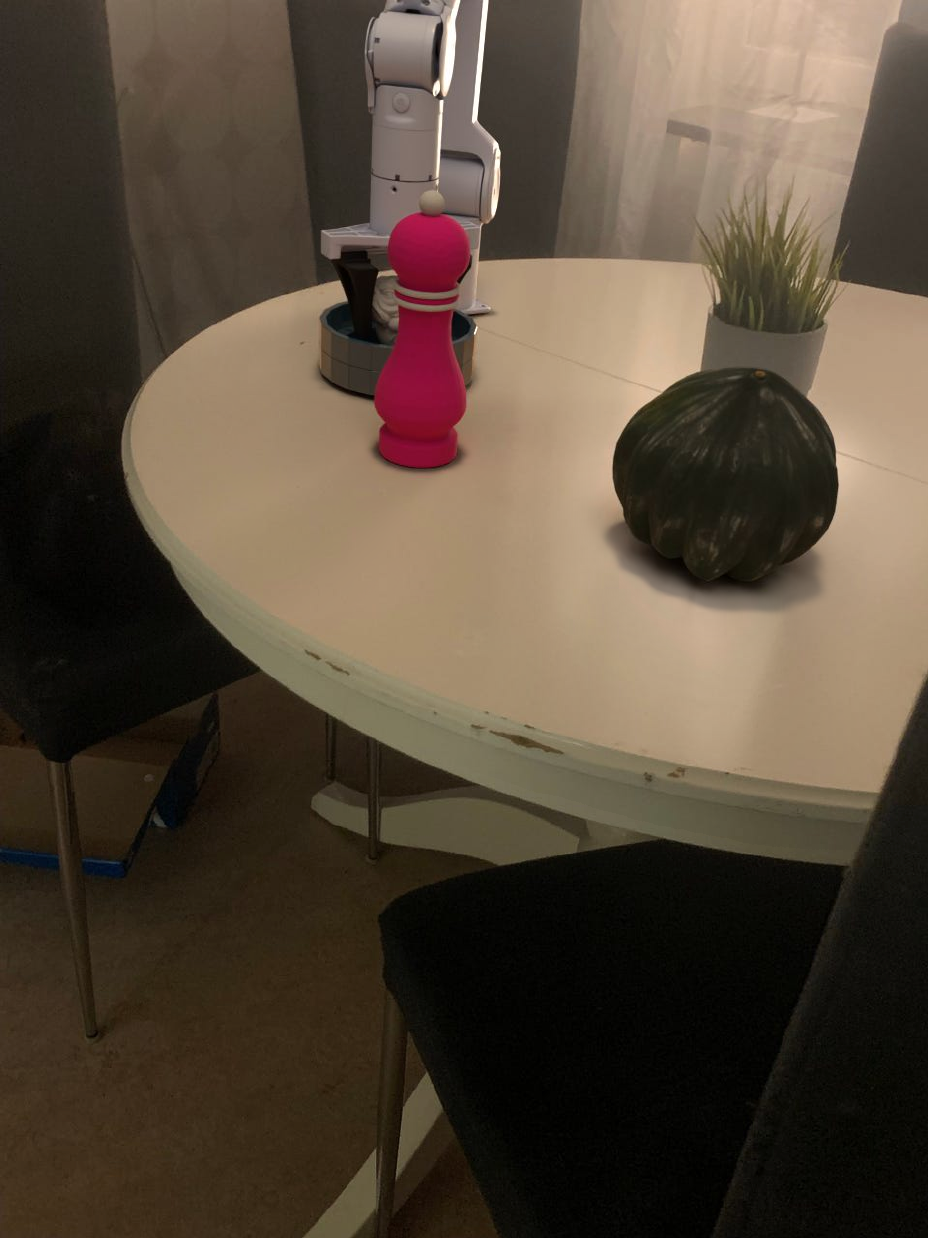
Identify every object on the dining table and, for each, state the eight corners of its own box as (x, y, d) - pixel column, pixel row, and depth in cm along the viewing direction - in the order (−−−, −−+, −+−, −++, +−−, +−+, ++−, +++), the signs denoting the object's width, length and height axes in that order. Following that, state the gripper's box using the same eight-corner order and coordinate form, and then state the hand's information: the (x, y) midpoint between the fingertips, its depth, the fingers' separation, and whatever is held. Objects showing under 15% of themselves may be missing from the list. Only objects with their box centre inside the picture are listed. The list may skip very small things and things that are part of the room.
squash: (699, 411, 84) (664, 292, 71) (882, 482, 77) (881, 364, 64) (603, 561, 82) (549, 468, 69) (781, 648, 75) (759, 562, 62)
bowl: (296, 356, 103) (295, 304, 100) (428, 341, 109) (431, 291, 106) (358, 412, 93) (360, 355, 90) (500, 392, 99) (505, 339, 96)
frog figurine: (354, 342, 101) (355, 267, 97) (426, 340, 103) (430, 266, 99) (369, 365, 96) (371, 287, 92) (444, 362, 98) (449, 286, 94)
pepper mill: (452, 477, 83) (472, 207, 72) (361, 463, 84) (368, 194, 73) (470, 440, 89) (492, 186, 78) (385, 427, 90) (395, 174, 79)
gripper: (345, 188, 85) (343, 355, 93) (502, 182, 92) (488, 338, 99) (310, 169, 90) (311, 328, 98) (462, 164, 97) (451, 314, 104)
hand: (398, 332), depth 99 cm, fingers closed on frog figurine, 7 cm apart
